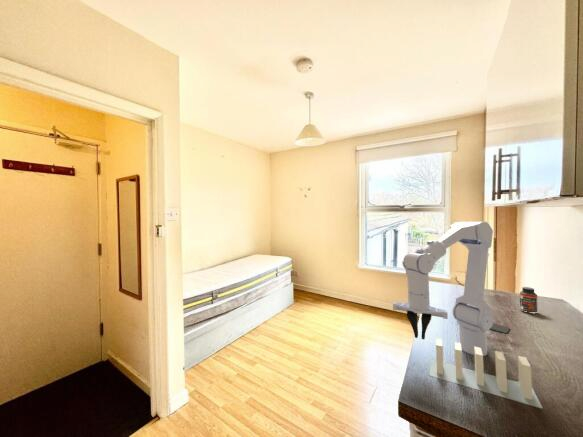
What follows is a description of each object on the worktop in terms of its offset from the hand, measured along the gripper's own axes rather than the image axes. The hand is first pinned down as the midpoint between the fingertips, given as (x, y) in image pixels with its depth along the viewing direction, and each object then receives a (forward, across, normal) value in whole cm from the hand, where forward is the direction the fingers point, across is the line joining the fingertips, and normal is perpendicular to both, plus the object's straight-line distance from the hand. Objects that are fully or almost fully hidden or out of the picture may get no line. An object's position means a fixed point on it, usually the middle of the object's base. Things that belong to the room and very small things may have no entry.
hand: (419, 337), depth 72 cm
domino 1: (+8, +10, 0) cm, 13 cm away
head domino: (+8, +5, 0) cm, 10 cm away
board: (+9, +14, 0) cm, 17 cm away
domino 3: (+8, +18, 0) cm, 20 cm away
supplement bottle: (+10, +39, +74) cm, 84 cm away
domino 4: (+8, +23, 0) cm, 24 cm away
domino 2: (+8, +14, 0) cm, 16 cm away
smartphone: (+10, +20, +46) cm, 51 cm away
